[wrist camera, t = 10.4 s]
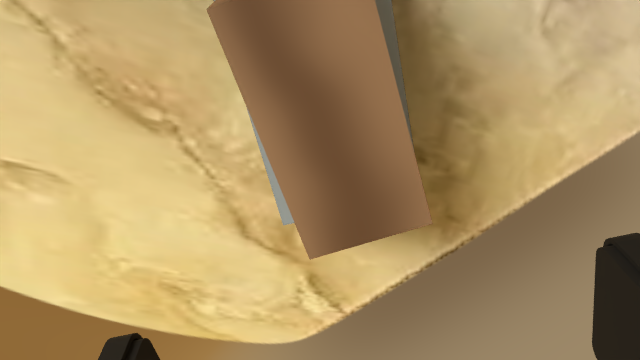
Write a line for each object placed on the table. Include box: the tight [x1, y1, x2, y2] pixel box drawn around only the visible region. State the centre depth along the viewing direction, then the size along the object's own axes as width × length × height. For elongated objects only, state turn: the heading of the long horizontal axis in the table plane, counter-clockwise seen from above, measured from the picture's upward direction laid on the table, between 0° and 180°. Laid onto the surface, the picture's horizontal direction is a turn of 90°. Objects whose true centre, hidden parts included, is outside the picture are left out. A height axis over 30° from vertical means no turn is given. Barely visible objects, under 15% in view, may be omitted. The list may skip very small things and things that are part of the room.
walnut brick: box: [207, 0, 433, 259], centre depth 23 cm, size 6×12×5 cm, turn 18°
